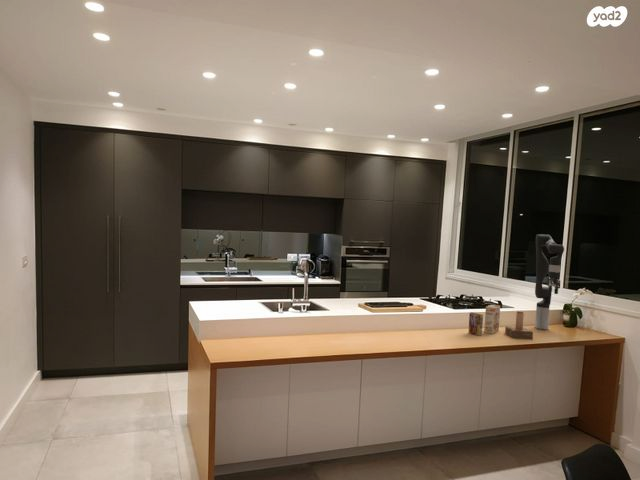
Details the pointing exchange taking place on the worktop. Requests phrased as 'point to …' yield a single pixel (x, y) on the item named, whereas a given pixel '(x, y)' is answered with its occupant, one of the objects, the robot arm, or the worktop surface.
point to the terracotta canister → (519, 320)
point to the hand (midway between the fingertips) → (553, 293)
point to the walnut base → (519, 333)
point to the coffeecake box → (492, 319)
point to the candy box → (475, 323)
